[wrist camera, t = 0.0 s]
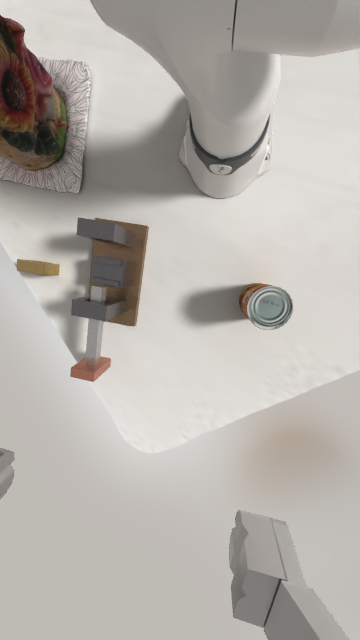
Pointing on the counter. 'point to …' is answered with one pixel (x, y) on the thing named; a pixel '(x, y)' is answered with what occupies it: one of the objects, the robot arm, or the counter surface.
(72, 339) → the counter surface
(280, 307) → the canned food
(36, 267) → the frame
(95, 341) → the shaft
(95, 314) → the shaft rig
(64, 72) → the cookie jar
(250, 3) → the robot arm
